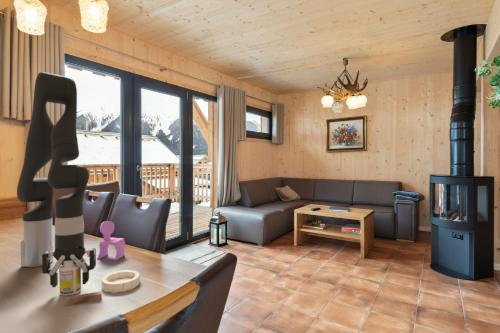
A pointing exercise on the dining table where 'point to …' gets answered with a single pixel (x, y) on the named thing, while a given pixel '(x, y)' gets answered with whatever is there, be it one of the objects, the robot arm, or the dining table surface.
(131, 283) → the jar dish
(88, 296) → the walnut stick
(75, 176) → the robot arm
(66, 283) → the supplement bottle
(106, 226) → the toy chair
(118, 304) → the dining table surface
